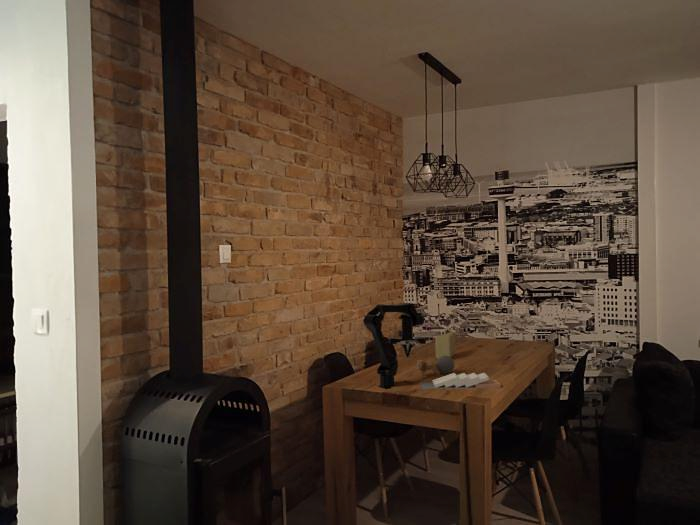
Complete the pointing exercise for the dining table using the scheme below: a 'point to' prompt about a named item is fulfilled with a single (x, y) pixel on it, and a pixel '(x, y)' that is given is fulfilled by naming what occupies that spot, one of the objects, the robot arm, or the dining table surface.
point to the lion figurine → (427, 367)
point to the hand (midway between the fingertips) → (407, 357)
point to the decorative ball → (445, 364)
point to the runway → (431, 386)
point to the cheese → (445, 344)
